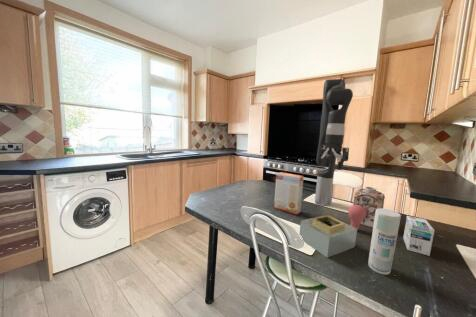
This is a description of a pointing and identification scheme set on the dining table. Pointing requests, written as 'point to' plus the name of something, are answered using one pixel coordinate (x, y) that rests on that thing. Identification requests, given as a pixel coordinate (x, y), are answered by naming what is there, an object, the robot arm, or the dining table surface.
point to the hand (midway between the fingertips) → (331, 167)
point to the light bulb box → (418, 235)
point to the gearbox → (328, 235)
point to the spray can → (383, 240)
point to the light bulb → (356, 215)
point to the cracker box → (288, 192)
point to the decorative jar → (369, 203)
